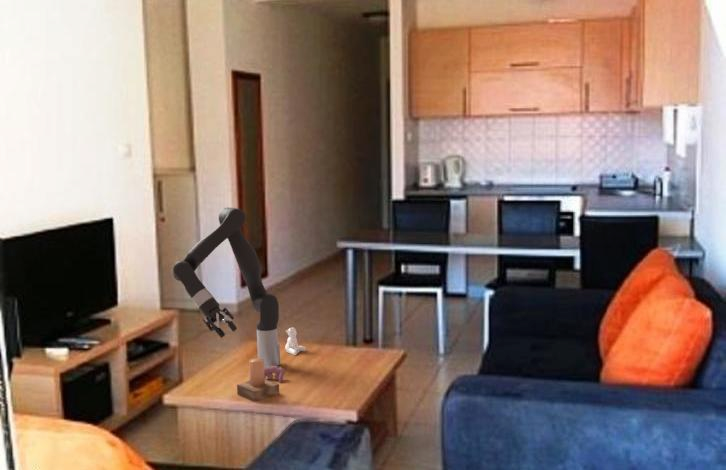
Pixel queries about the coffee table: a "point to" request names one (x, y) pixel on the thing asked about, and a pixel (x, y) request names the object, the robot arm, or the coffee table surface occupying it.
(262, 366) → the peach orange capsule
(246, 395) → the walnut block
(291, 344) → the seated beast figurine
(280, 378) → the pink gamepad
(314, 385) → the coffee table surface
